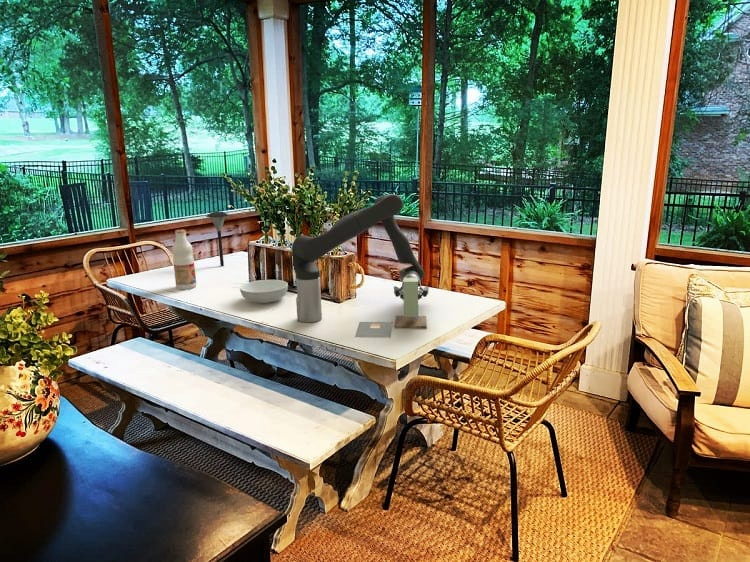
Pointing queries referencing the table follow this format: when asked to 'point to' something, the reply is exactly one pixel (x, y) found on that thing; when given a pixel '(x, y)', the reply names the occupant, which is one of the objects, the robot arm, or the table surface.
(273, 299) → the serving bowl
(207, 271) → the table surface
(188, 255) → the fruit juice
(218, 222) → the solar garden light
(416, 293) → the sage block
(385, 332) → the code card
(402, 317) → the walnut pad
